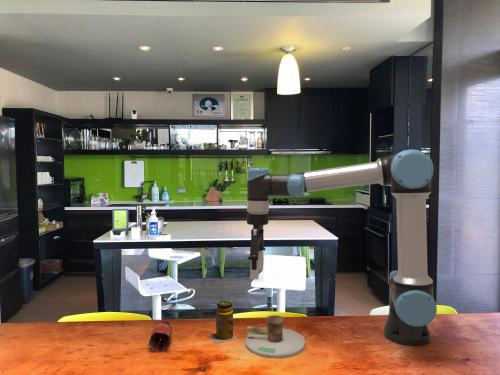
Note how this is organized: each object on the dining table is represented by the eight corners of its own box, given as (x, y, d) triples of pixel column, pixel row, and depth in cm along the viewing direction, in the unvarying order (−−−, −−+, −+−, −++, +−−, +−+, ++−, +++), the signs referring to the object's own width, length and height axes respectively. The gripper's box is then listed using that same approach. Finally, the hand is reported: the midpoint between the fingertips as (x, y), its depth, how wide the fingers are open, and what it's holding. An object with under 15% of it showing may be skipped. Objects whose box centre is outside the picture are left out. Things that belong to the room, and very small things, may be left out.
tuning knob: (284, 335, 135) (284, 315, 135) (283, 343, 129) (283, 322, 129) (248, 333, 137) (248, 313, 137) (245, 340, 131) (245, 320, 131)
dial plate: (305, 333, 141) (305, 329, 141) (304, 360, 121) (304, 354, 121) (250, 330, 144) (250, 325, 144) (240, 355, 125) (240, 350, 125)
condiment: (238, 337, 138) (237, 303, 138) (216, 343, 134) (216, 308, 133) (227, 330, 144) (227, 298, 144) (206, 336, 140) (206, 302, 139)
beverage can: (173, 336, 140) (173, 318, 139) (170, 352, 128) (170, 331, 127) (152, 337, 139) (152, 319, 138) (148, 353, 127) (147, 333, 126)
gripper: (252, 209, 148) (251, 264, 149) (240, 216, 124) (240, 283, 125) (271, 209, 147) (271, 265, 148) (264, 217, 123) (263, 284, 124)
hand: (257, 273), depth 136 cm, fingers open, 13 cm apart
